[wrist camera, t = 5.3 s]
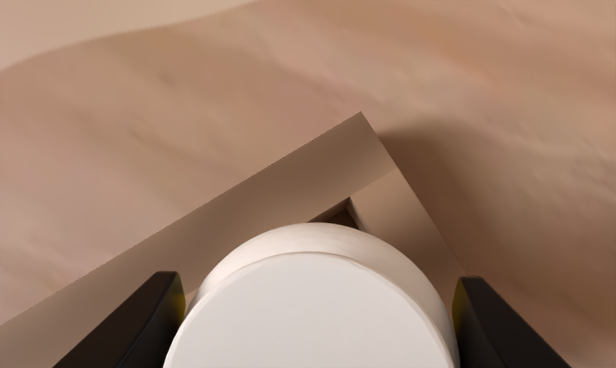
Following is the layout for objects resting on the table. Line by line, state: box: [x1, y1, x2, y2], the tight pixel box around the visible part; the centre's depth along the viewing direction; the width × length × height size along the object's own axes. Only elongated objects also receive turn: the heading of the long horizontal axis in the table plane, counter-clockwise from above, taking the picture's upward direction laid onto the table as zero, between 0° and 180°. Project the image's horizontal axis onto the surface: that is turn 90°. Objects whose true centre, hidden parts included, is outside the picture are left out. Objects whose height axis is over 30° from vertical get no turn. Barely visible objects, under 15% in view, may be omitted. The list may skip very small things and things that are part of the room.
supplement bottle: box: [163, 223, 460, 368], centre depth 11 cm, size 5×5×10 cm
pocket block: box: [0, 112, 468, 368], centre depth 20 cm, size 12×20×4 cm, turn 120°
